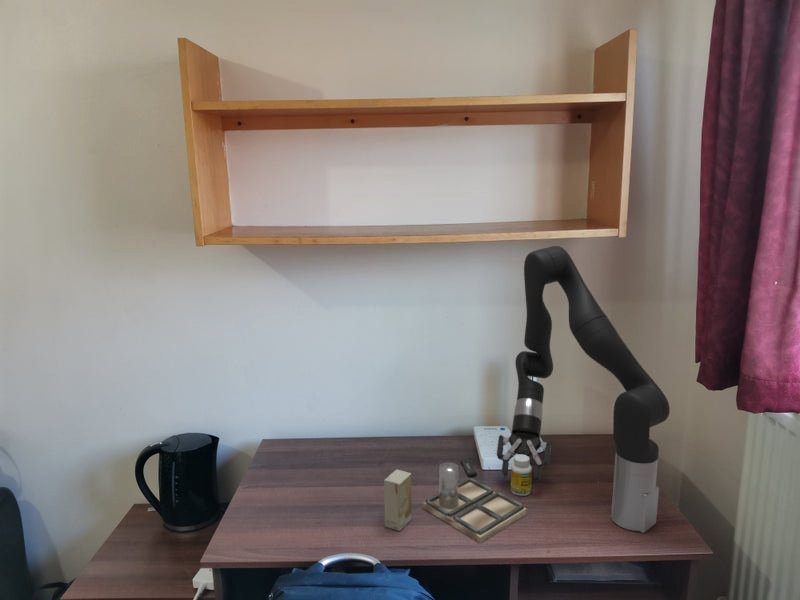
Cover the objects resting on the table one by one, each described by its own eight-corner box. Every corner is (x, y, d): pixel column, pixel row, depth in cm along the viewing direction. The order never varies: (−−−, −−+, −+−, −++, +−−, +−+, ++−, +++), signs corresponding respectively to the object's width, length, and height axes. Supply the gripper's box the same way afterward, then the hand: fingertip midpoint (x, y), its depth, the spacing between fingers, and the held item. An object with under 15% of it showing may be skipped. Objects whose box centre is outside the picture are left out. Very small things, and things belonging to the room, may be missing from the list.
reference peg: (462, 504, 146) (462, 467, 144) (449, 511, 143) (449, 474, 141) (448, 496, 150) (448, 460, 148) (435, 503, 147) (435, 466, 145)
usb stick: (460, 462, 171) (460, 457, 171) (468, 461, 171) (468, 456, 171) (468, 479, 162) (468, 473, 162) (477, 478, 162) (477, 473, 162)
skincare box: (400, 532, 138) (399, 484, 135) (384, 527, 140) (382, 480, 137) (412, 518, 144) (412, 472, 141) (397, 513, 146) (396, 468, 143)
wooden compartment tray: (526, 514, 144) (526, 505, 144) (480, 543, 134) (480, 534, 133) (469, 484, 158) (469, 476, 158) (422, 508, 148) (422, 499, 147)
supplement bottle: (520, 483, 158) (521, 450, 156) (535, 492, 154) (536, 458, 152) (506, 489, 155) (507, 456, 153) (520, 498, 151) (521, 464, 149)
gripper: (499, 410, 160) (491, 469, 152) (554, 416, 155) (548, 478, 147) (502, 420, 166) (494, 478, 158) (555, 426, 161) (549, 486, 153)
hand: (520, 478), depth 152 cm, fingers open, 7 cm apart
